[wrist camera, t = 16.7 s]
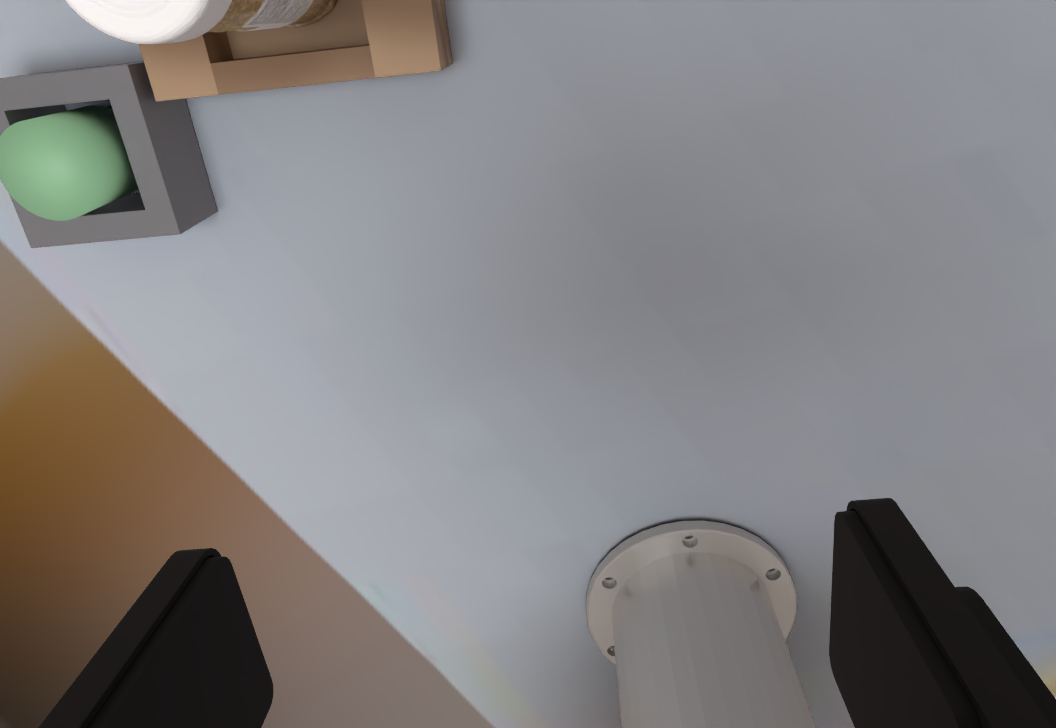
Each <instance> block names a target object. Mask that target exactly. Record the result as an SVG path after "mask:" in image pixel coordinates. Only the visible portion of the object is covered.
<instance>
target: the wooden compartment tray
mask: <svg viewBox="0 0 1056 728" xmlns="http://www.w3.org/2000/svg"><path fill="white" fill-rule="evenodd" d="M139 47H140V50H141V54H142V57H143V60H144V64H145V67H146V70H147V73H148V77H149V80H150V83H151V87H152V90H153V93H154V97H155V100H156V101H165V100H174V99H184V98H193V97H202V96H211V95H220V94H230V93H239V92H248V91H257V90H266V89H275V88H285V87H294V86H303V85H312V84H321V83H331V82H340V81H349V80H358V79H367V78H377V77H386V76H395V75H404V74H413V73H422V72H432V71H441V70H443V69H444V68H446V67H448V66H450V65H451V64H453V63H452V55H451V48H450V41H449V33H448V26H447V19H446V12H445V4H444V0H336V2H335V4H334V7H333V9H332V10H330V11H329V12H328V13H327V14H326V15H325V16H324V17H322V18H321V19H320V20H318V21H317V22H315V23H312V24H310V25H307V26H300V27H287V26H284V27H280V28H273V29H263V30H254V31H225V32H206V33H204V34H203V35H201V36H199V37H197V38H194V39H191V40H186V41H182V42H174V43H163V44H139Z"/></svg>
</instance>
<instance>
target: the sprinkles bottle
mask: <svg viewBox="0 0 1056 728" xmlns="http://www.w3.org/2000/svg"><path fill="white" fill-rule="evenodd" d="M65 1H66V2H67V3H68V4H69V6H70V7H71V8H72V9H74V10H75V12H76V13H77V14H78V15H80V16H81V17H82V18H83V19H84V20H85V21H87V22H88V23H90V24H91V25H92V26H94V27H95V28H97V29H98V30H100V31H102V32H104V33H105V34H107V35H110V36H112V37H114V38H117V39H120V40H123V41H127V42H132V43H136V44H163V43H174V42H182V41H186V40H191V39H194V38H197V37H199V36H201V35H203V34H204V33H206V32H225V31H254V30H263V29H273V28H280V27H284V26H287V27H300V26H307V25H310V24H312V23H315V22H317V21H318V20H320V19H321V18H322V17H324V16H325V15H326V14H327V13H328V12H329V11H330V10H332V9H333V7H334V4H335V2H336V0H65Z"/></svg>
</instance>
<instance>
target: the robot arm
mask: <svg viewBox="0 0 1056 728" xmlns="http://www.w3.org/2000/svg"><path fill="white" fill-rule="evenodd" d="M586 612H587V623H588V628H589V630H590V633H591V636H592V639H593V641H594V642H595V644H596V645H597V647H598V648H599V650H600V651H601V653H602V654H603V655H604V656H605V657H606V658H607V659H608V660H609V661H610V662H611V663H613V664H614V665H616V671H617V683H618V695H619V707H620V719H621V728H816V727H815V724H814V721H813V718H812V716H811V713H810V710H809V707H808V704H807V701H806V698H805V696H804V693H803V690H802V687H801V684H800V681H799V679H798V676H797V673H796V670H795V667H794V664H793V661H792V659H791V656H790V653H789V650H788V647H787V644H786V641H785V640H786V639H787V637H788V635H789V633H790V631H791V629H792V627H793V625H794V622H795V617H796V612H797V595H796V590H795V587H794V584H793V581H792V578H791V575H790V573H789V571H788V569H787V567H786V565H785V563H784V561H783V560H782V559H781V558H780V556H779V555H778V554H777V553H776V551H775V550H774V549H773V548H772V547H770V546H769V545H768V544H767V543H765V542H764V541H763V540H762V539H760V538H759V537H757V536H755V535H753V534H751V533H749V532H747V531H745V530H743V529H740V528H737V527H734V526H731V525H727V524H724V523H717V522H710V521H680V522H674V523H668V524H662V525H659V526H656V527H653V528H650V529H647V530H644V531H642V532H640V533H638V534H636V535H634V536H632V537H630V538H628V539H627V540H625V541H623V542H622V543H621V544H620V545H618V546H617V547H616V548H614V549H613V550H612V551H611V552H610V553H609V554H608V555H607V556H606V557H605V558H604V559H603V561H602V562H601V563H600V564H599V565H598V567H597V569H596V571H595V572H594V574H593V576H592V578H591V580H590V584H589V587H588V591H587V598H586ZM829 655H830V662H831V668H832V671H833V675H834V678H835V680H836V683H837V685H838V688H839V690H840V693H841V695H842V697H843V700H844V702H845V705H846V707H847V710H848V712H849V714H850V717H851V719H852V722H853V724H854V727H855V728H1056V699H1055V698H1054V696H1053V695H1052V693H1051V692H1050V691H1049V689H1048V688H1047V687H1046V685H1045V684H1044V683H1043V681H1042V680H1041V678H1040V677H1039V676H1038V674H1037V673H1036V672H1035V670H1034V669H1033V667H1032V666H1031V665H1030V663H1029V662H1028V661H1027V659H1026V658H1025V657H1024V655H1023V654H1022V652H1021V651H1020V650H1019V648H1018V647H1017V646H1016V644H1015V643H1014V641H1013V640H1012V639H1011V637H1010V636H1009V635H1008V633H1007V632H1006V631H1005V629H1004V628H1003V626H1002V625H1001V624H1000V622H999V621H998V620H997V618H996V617H995V615H994V614H993V613H992V611H991V610H990V609H989V607H988V606H987V605H986V603H985V602H984V600H983V599H982V598H981V597H980V596H979V595H978V593H977V592H976V591H975V590H973V589H971V588H969V587H954V586H953V584H952V583H951V581H950V580H949V578H948V577H947V575H946V574H945V573H944V571H943V570H942V568H941V567H940V565H939V564H938V563H937V561H936V560H935V558H934V557H933V555H932V554H931V552H930V551H929V550H928V548H927V547H926V545H925V544H924V542H923V541H922V540H921V538H920V537H919V535H918V534H917V532H916V531H915V529H914V528H913V527H912V525H911V524H910V522H909V521H908V519H907V518H906V517H905V515H904V514H903V512H902V511H901V509H900V508H899V507H898V505H897V504H896V502H895V501H894V500H893V499H890V498H884V499H870V500H857V501H850V502H849V504H848V506H847V511H844V512H837V513H836V515H835V523H834V548H833V572H832V596H831V621H830V645H829ZM272 698H273V683H272V679H271V676H270V673H269V670H268V668H267V664H266V662H265V659H264V656H263V653H262V650H261V647H260V644H259V642H258V639H257V636H256V633H255V630H254V627H253V624H252V621H251V618H250V616H249V613H248V610H247V607H246V604H245V601H244V598H243V595H242V593H241V590H240V587H239V584H238V581H237V578H236V575H235V572H234V569H233V567H232V564H231V562H230V560H229V559H228V558H227V557H221V555H220V553H219V552H218V551H217V550H216V549H213V548H208V549H194V550H181V551H177V552H175V553H174V554H173V555H172V556H171V557H170V558H169V559H168V560H167V562H166V563H165V565H164V566H163V567H162V568H161V570H160V571H159V572H158V573H157V575H156V576H155V577H154V579H153V580H152V581H151V582H150V584H149V585H148V586H147V588H146V589H145V590H144V592H143V593H142V594H141V595H140V597H139V598H138V599H137V601H136V602H135V603H134V605H133V606H132V607H131V609H130V610H129V611H128V612H127V614H126V615H125V616H124V618H123V619H122V620H121V621H120V623H119V624H118V625H117V627H116V628H115V629H114V631H113V632H112V633H111V634H110V636H109V637H108V638H107V640H106V641H105V642H104V643H103V645H102V646H101V647H100V649H99V650H98V651H97V653H96V654H95V655H94V656H93V658H92V659H91V660H90V662H89V663H88V664H87V666H86V667H85V668H84V670H83V671H82V672H81V673H80V675H79V676H78V677H77V678H76V680H75V681H74V682H73V684H72V685H71V686H70V688H69V689H68V690H67V691H66V693H65V694H64V695H63V697H62V698H61V699H60V700H59V702H58V703H57V704H56V706H55V707H54V708H53V710H52V711H51V712H50V713H49V715H48V716H47V717H46V719H45V720H44V721H43V723H42V724H41V725H40V726H39V728H261V727H262V724H263V722H264V720H265V718H266V715H267V713H268V711H269V709H270V706H271V703H272Z"/></svg>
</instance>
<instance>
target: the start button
mask: <svg viewBox="0 0 1056 728" xmlns="http://www.w3.org/2000/svg"><path fill="white" fill-rule="evenodd" d="M0 179H1V181H2V183H3V185H4V187H5V188H6V190H7V191H8V192H9V194H10V195H11V196H12V197H13V198H14V200H15V201H16V202H18V203H19V204H20V205H21V206H22V207H24V208H25V209H26V210H28V211H29V212H31V213H33V214H35V215H37V216H39V217H42V218H45V219H49V220H55V221H66V220H71V219H74V218H77V217H79V216H81V215H84V214H86V213H88V212H90V211H92V210H95V209H97V208H99V207H101V206H104V205H106V204H108V203H110V202H113V201H115V200H117V199H119V198H121V197H124V196H126V195H128V194H130V193H132V192H134V191H136V190H137V189H139V188H138V185H137V182H136V179H135V176H134V173H133V170H132V167H131V164H130V161H129V158H128V155H127V152H126V149H125V146H124V143H123V139H122V136H121V133H120V130H119V127H118V124H117V121H116V118H115V115H114V112H113V109H111V108H108V107H104V106H86V107H82V108H77V109H73V110H68V111H64V112H59V113H55V114H50V115H46V116H41V117H37V118H32V119H28V120H23V121H19V122H17V123H14V124H12V125H11V126H9V127H8V128H7V129H6V130H5V131H4V132H3V133H2V134H1V136H0Z"/></svg>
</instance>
